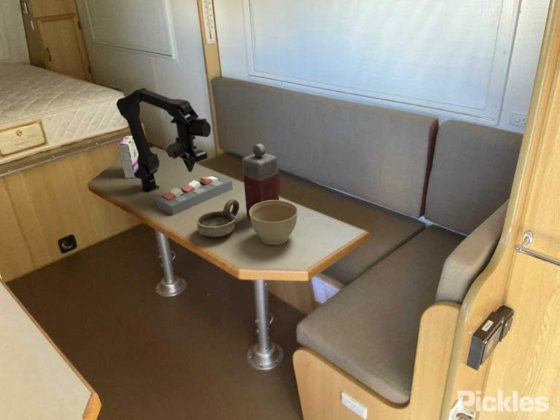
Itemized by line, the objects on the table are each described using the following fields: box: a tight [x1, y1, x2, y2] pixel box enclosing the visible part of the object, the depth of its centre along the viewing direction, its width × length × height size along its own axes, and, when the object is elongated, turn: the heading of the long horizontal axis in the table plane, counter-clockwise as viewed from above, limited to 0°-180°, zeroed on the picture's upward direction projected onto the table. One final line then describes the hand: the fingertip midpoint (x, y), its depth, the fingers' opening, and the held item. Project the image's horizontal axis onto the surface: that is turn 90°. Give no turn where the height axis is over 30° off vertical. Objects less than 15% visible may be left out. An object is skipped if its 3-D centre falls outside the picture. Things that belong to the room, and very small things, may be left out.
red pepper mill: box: [241, 143, 282, 218], centre depth 171 cm, size 9×11×28 cm
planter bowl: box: [249, 199, 299, 246], centre depth 160 cm, size 16×16×11 cm
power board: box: [155, 173, 233, 216], centre depth 192 cm, size 11×30×4 cm, turn 136°
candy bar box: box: [117, 135, 138, 179], centre depth 214 cm, size 11×5×16 cm, turn 179°
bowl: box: [196, 198, 240, 238], centre depth 166 cm, size 14×18×10 cm
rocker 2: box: [182, 179, 201, 193], centre depth 192 cm, size 4×6×2 cm, turn 136°
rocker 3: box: [199, 176, 218, 184], centre depth 198 cm, size 4×6×2 cm, turn 136°
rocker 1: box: [163, 186, 183, 201], centre depth 187 cm, size 4×6×2 cm, turn 136°
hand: (190, 171), depth 189 cm, fingers closed
